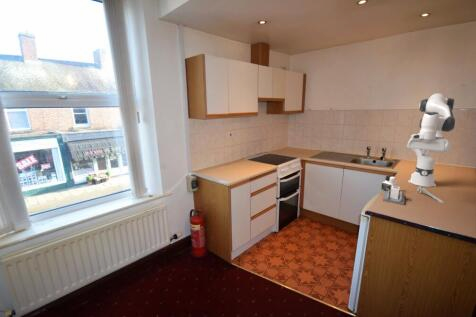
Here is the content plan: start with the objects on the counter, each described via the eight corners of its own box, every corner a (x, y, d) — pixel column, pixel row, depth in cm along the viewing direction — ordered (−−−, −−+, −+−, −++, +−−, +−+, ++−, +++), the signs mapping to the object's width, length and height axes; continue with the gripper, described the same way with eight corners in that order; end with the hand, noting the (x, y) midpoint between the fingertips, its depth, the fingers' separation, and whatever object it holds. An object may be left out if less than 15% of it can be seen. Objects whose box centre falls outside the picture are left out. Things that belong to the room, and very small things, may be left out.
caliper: (416, 192, 174) (418, 184, 173) (418, 192, 174) (419, 184, 173) (442, 203, 155) (444, 195, 153) (444, 203, 155) (445, 194, 153)
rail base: (384, 192, 173) (385, 191, 173) (403, 196, 166) (404, 194, 166) (382, 200, 159) (383, 198, 159) (403, 204, 152) (404, 202, 152)
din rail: (387, 191, 172) (388, 189, 171) (401, 193, 167) (401, 191, 166) (386, 199, 158) (386, 196, 157) (401, 202, 153) (401, 199, 152)
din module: (390, 194, 167) (392, 184, 165) (397, 195, 164) (399, 185, 162) (389, 197, 160) (391, 187, 159) (397, 199, 158) (399, 189, 156)
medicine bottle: (380, 190, 179) (382, 175, 176) (387, 188, 181) (389, 174, 178) (389, 193, 172) (391, 178, 169) (395, 192, 175) (398, 177, 172)
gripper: (446, 136, 151) (442, 156, 154) (408, 134, 163) (405, 153, 166) (448, 137, 146) (443, 158, 149) (409, 135, 158) (405, 154, 161)
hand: (423, 155), depth 157 cm, fingers closed
